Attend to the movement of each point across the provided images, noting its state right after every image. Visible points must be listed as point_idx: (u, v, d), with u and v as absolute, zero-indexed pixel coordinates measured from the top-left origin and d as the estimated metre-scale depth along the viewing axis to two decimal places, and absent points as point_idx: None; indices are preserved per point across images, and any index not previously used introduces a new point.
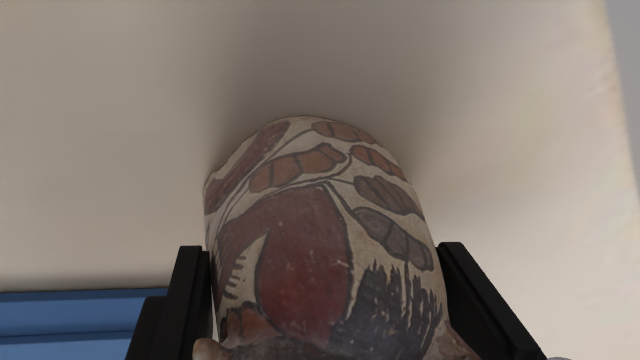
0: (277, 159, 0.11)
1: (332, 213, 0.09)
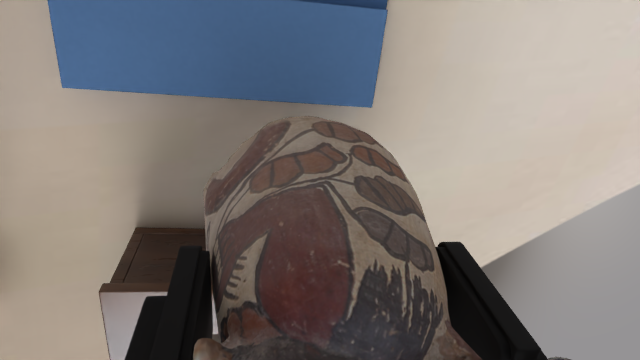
0: (277, 159, 0.11)
1: (333, 214, 0.09)
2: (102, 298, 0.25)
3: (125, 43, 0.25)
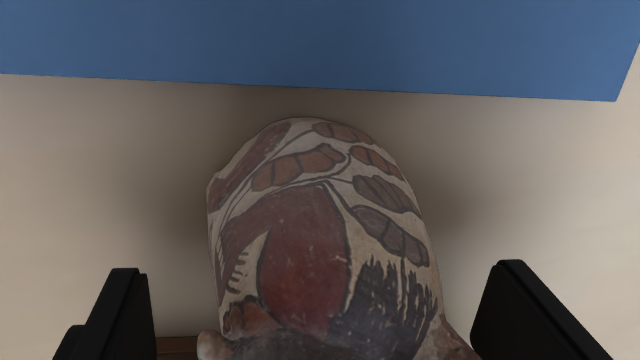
0: (278, 159, 0.11)
1: (331, 211, 0.09)
2: None
3: None
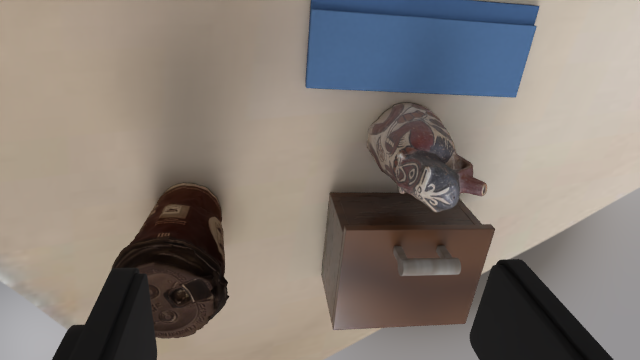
0: (404, 114, 0.37)
1: (427, 125, 0.34)
2: (347, 235, 0.35)
3: (355, 55, 0.36)
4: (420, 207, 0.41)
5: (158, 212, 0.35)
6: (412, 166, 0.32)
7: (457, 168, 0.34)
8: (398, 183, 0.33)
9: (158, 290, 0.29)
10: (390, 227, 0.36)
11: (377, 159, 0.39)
